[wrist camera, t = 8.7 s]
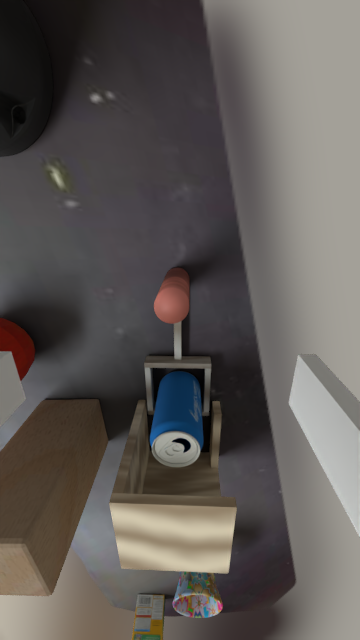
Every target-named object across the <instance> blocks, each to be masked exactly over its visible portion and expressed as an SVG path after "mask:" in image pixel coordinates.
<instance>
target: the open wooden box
mask: <svg viewBox="0 0 360 640" xmlns="http://www.w3.org/2000/svg"><path fill="white" fill-rule="evenodd" d="M221 418H222V413H221V407H220V401H212V415H211V434H210V452H200V455H199V457H198V459H197V460H196V461H195V462H193V463H192V464H190V465H188V466H184V467H170V466H166V465H164V464H162V463H160V462H159V461H158V460H157V459H156V458H155V457H154V455H153V453H152V451H150V448H149V435H148V422H147V409H146V400H138V404H137V407H136V411H135V414H134V418H133V421H132V425H131V428H130V432H129V435H128V439H127V442H126V446H125V449H124V453H123V456H122V460H121V463H120V467H119V470H118V474H117V477H116V481H115V484H114V488H113V492H112V495H111V499H110V502H109V504H110V509H111V515H112V520H113V526H114V531H115V536H116V542H117V547H118V553H119V558H120V563H121V569H143V570H164V571H186V572H207V573H228V572H229V564H230V556H231V548H232V541H233V533H234V525H235V517H236V510H237V506H236V500H235V497H221V492H220V484H219V475H218V459H219V445H220V432H221Z"/></svg>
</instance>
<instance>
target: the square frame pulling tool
mask: <svg viewBox="0 0 360 640" xmlns="http://www.w3.org/2000/svg"><path fill="white" fill-rule="evenodd" d="M154 310H155V313H156V315H157V316H158V318H159V319H161V320H162V321H164V322H166V323H174V356H146V359H145V362H144V366H145V379H146V393H147V406H148V415H154V412H155V407H156V402H155V401H154V384H153V368H200V369H204V394H203V403H201V408H202V416H209V400H210V380H211V359H210V357H203V356H182V348H181V321H182V320H183V319H184V318H185V317H186V316H187V314H188V312H189V275H188V273H187V272H186V271H185V270H184V269H182V268H179V267H176V268H172V269H170V270H169V271H168V272H167V274H166V276H165V279H164V281H163V283H162V286H161V288H160V290H159V293H158V295H157V297H156V300H155V302H154Z"/></svg>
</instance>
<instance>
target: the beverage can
mask: <svg viewBox="0 0 360 640" xmlns="http://www.w3.org/2000/svg"><path fill="white" fill-rule="evenodd" d="M150 444H151V447H152V453H153V455H154V457H155V458H156V459H157V460H158V461H159V462H160V463H162V464H164V465H166V466H170V467H184V466H188V465H190V464H192V463H193V462H195V461H196V460H197V459H198V457H199V455H200V451H201V449H202V446H203V425H202V408H201V392H200V384H199V382H198V380H197V379H196V377H194V376H193V375H192V374H190V373H188V372H184V371H174V372H171V373H169V374H167V375H165V376H164V377H163V378H162V380H161V382H160V385H159V390H158V396H157V401H156V407H155V412H154V418H153V423H152V429H151V434H150Z"/></svg>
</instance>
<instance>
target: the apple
mask: <svg viewBox="0 0 360 640" xmlns="http://www.w3.org/2000/svg"><path fill="white" fill-rule="evenodd" d="M0 351H11V353H12V356H13V359H14V362H15V365H16V368H17V372H18V375H19V378H20V381H21V380H22V379H23V378H24V376H25V375H26V374H27V372H28V370H29V368H30V367H31V365H32V363H33V361H34V357H35V348H34V344H33V340H32V339H31V338H30V336H29V335H28V334H27V333H26V331H25V330H23V329H22V328H21V327H19V326H18V325H17V324H15V323H14V322H11V321H8V320H6V319H3V318H0Z"/></svg>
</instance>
